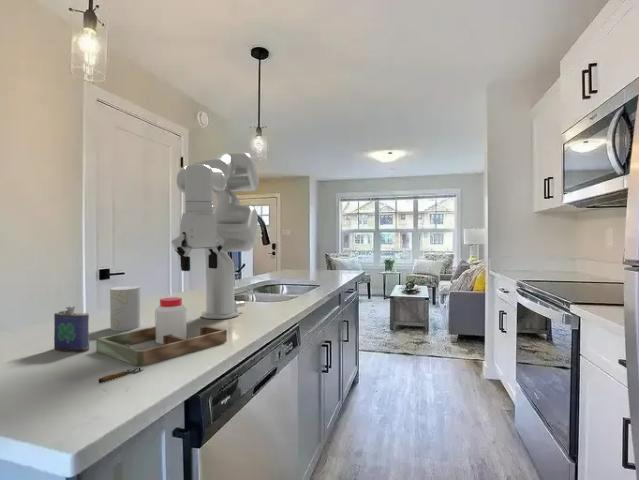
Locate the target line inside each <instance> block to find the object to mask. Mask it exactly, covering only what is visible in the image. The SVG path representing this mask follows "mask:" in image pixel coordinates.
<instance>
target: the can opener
mask: <svg viewBox="0 0 639 480" xmlns="http://www.w3.org/2000/svg"><path fill="white" fill-rule="evenodd" d="M144 370H145V368H143V369H141V367H140V366H137V367H136V368H134V369H127V370H123V371H120V372H118V373H113V374H109V375H105V376H103V377H100V378H99V379H98V383H99V384H104V383H107V382H109V380H110V381H112V379H113V380H116V379H118V378H122V377H124V376H127V375H129V374H130V375H134V374H135V375H136V374H138V373H141V372H144ZM115 378H116V379H115ZM106 381H107V382H106ZM103 382H104V383H103Z"/></svg>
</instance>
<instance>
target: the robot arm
mask: <svg viewBox="0 0 639 480" xmlns="http://www.w3.org/2000/svg"><path fill="white" fill-rule="evenodd" d="M258 173H259V172H258V170H257V167H256V164H255V161H254V159H253V157H252V156H251V155H250V154H249V153H247V152H221V153H218V154H216V155H215V156H213V157H212V158H211V159H206V160H203V161H198V162H194V163H190V164H187V165H184V166H183V167H182V168H180V169H179V171H178V172H177V175H176V186H177V188H178V189H179V191H180V192H181V193H183V194H184V212H183V213H182V214H181V218H180V219H181V220H180V226H179V235H178V236H177V237H176V238H174V239H173V240H171V244H172V245H171V246H172V247H173V248H174V251H175V252H176V253H177V255H178V257H180V270H181V271H182V272H190V271H191V257H190V256H189V254H190V253H191V251H192V250H194V249H195V250H196V249H197V250H199V249H203V250H204V256H205V310H204V311H202V312H201V314H200V316H201V317H202V318H204V319H207V320H209V319H210V320H221V319H222V320H223V319H231V318H235V317H238V316H239V315H240V311H239V310H238V308H242V307H245V305H246V304H245V301H243V300H240V301H237V300H235V264H234V260H232V257H230V255H229V254H228V253H229V252H230V253H231V252H234V253H235V252H249V251H251V250H252V249H253V248H254V245H255V242H256V235H257V229H258V222H259V217H258V216H259V215H258V211H257V210H256V209H257V208H255V207H254V206H252V205H242V204H241V203H242V202H241V201H240V199H239V198H238V197H237V195H236V194H235V193H233V192H254V191H256V190H257V189H258V187H259V184H260V178H259V174H258ZM214 194H215V197H216V200H217V205H214V203H213V202H214V201H213V200H214ZM213 211H214V212H213Z"/></svg>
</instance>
